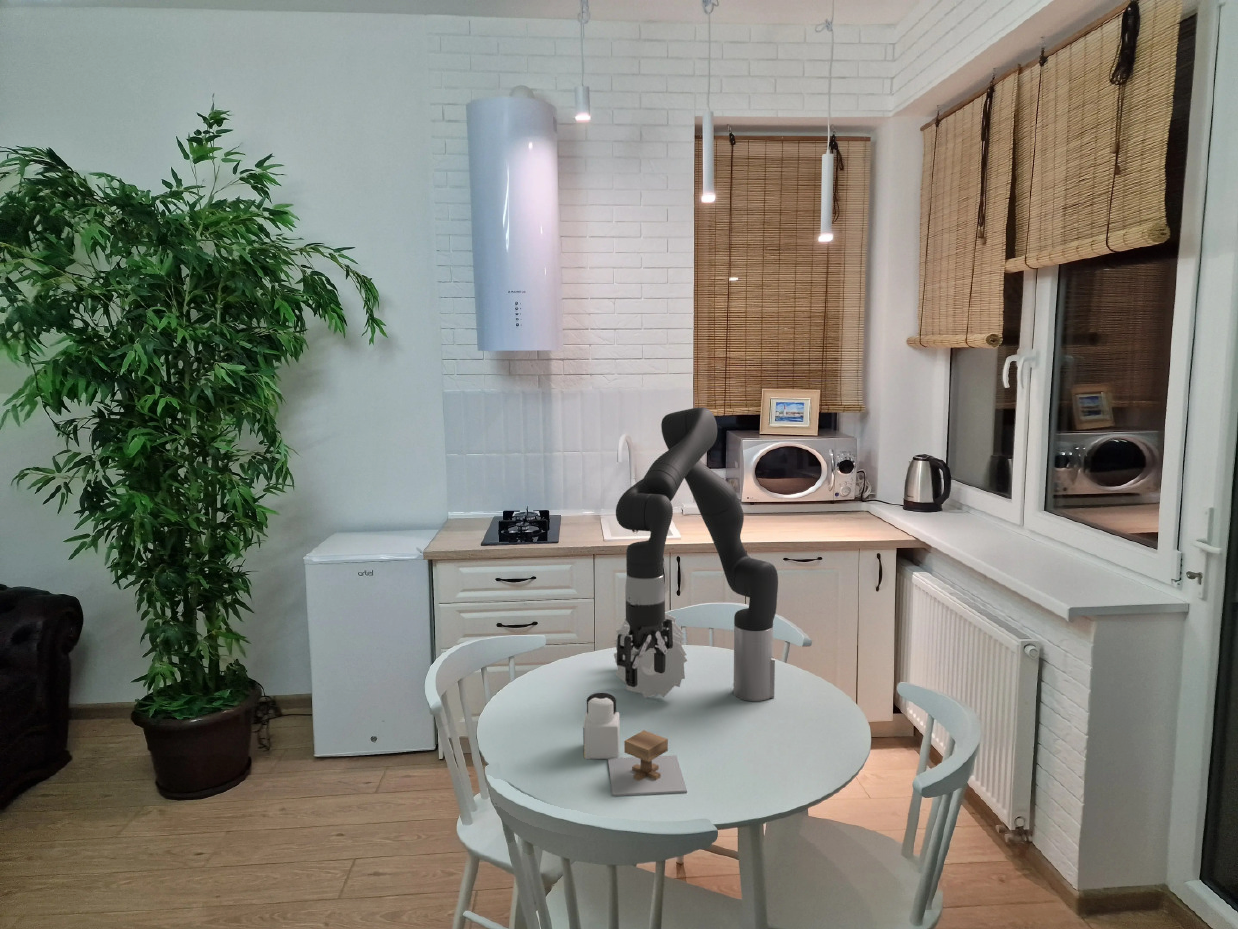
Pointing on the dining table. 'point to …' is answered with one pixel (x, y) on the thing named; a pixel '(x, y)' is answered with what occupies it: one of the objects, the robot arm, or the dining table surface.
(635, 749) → the wooden pedestal stool
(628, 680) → the robot arm
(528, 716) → the dining table surface
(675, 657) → the spiral staircase
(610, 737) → the blocky figurine
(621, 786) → the mat
